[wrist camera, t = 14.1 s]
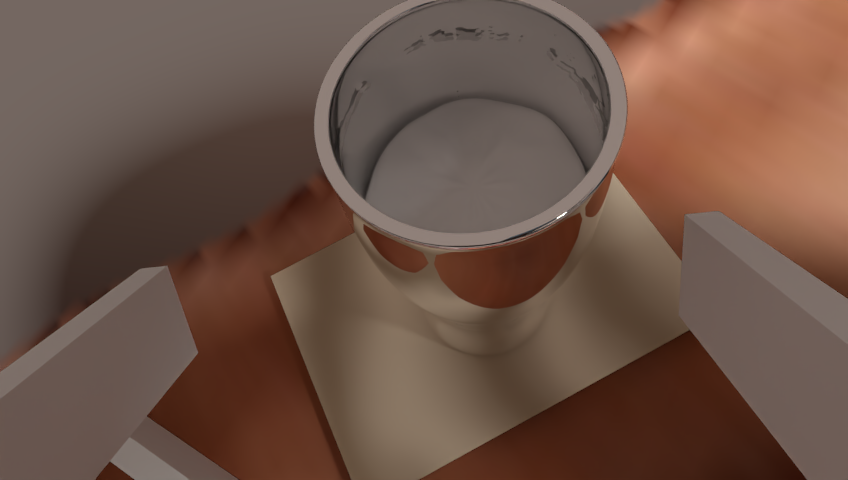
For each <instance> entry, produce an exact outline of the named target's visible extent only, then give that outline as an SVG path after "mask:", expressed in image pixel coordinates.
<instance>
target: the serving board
mask: <svg viewBox="0 0 848 480" xmlns="http://www.w3.org/2000/svg"><path fill="white" fill-rule="evenodd" d="M681 267H682V261H681V260H680V259H679V257H678V256H677V255H676V253H675V252H674V251H673V250H672V248H671V247H670V246H669V244H668V243H667V242H666V241H665V239H664V238H663V237H662V235H661V234H660V233H659V232H658V230H657V229H656V228H655V226H654V225H653V224H652V223H651V221H650V220H649V219H648V217H647V216H646V215H645V214H644V212H643V211H642V210H641V208H640V207H639V206H638V204H637V203H636V202H635V201H634V199H633V198H632V197H631V195H630V194H629V193H628V192H627V190H626V189H625V188H624V186H623V185H622V184H621V183H620V181H619V180H618V179H617V177H616V176H615V175H614V174H613V175H612V179H611V183H610V187H609V190H608V194H607V198H606V201H605V205H604V208H603V211H602V214H601V216H600V219H599V222H598V224H597V227H596V230H595V232H594V235H593V237H592V240H591V242H590V244H589V246H588V248H587V249H586V251H585V253H584V254H583V256H582V258H581V260H580V261H579V263H578V265H577V267H576V268H575V270H574V271H573V272H572V274H571V275H570V277H569V278H568V279H567V280H566V281H565V282H564V284H563V285H562V286H561V287H560V288H559V289H557V290H556V291H555V292H554V293H553V294H552V295H551V296H550V297H549V299H548V305H547V310H546V313H545V316H544V318H543V320H542V322H541V324H540V326H539V327H538V329H537V330H536V331H535V333H534V334H533V335H532V336H531V337H530V338H529V339H528V340H527V341H525V342H524V343H523V344H521V345H520V346H518V347H516V348H515V349H513V350H510V351H508V352H505V353H502V354H497V355H490V356H480V355H472V354H468V353H465V352H462V351H459V350H457V349H455V348H453V347H451V346H450V345H448V344H447V343H445V342H444V341H443V340H442V339H440V338H439V337H438V336H437V334H436V333H435V332H434V331H433V330H432V328H431V327H430V325H429V323H428V322H427V320H426V317H425V315H424V312H423V309H422V308H420V307H419V306H417V305H416V304H414V303H413V302H411V301H410V300H408V299H407V298H406V297H404V296H403V295H402V294H401V293H399V292H398V291H397V290H396V289H395V288H394V287H393V286H392V285H391V284H390V283H389V281H388V280H387V279H386V278H385V277H384V275H383V274H382V273H381V272H380V271H379V270H378V268H377V267H376V266H375V265H374V263H373V262H372V260H371V259H370V258H369V256H368V254H367V253H366V251H365V249H364V248H363V246H362V244H361V243H360V241H359V239H358V238H357V236H356V234H355V232H354V233H352V234H351V235H349V236H347V237H345V238H343V239H341V240H339V241H337V242H335V243H333V244H331V245H329V246H327V247H326V248H324V249H322V250H320V251H318V252H316V253H314V254H312V255H310V256H308V257H306V258H304V259H302V260H300V261H299V262H297V263H295V264H293V265H291V266H289V267H287V268H285V269H283V270H281V271H279V272H277V273H275V274H274V275H272V276H271V279H272V281H273V284H274V286H275V289H276V291H277V294H278V296H279V299H280V302H281V304H282V307H283V309H284V312H285V314H286V317H287V319H288V322H289V324H290V327H291V329H292V332H293V334H294V337H295V339H296V342H297V344H298V347H299V349H300V352H301V354H302V357H303V359H304V362H305V365H306V367H307V370H308V372H309V375H310V377H311V380H312V382H313V385H314V387H315V390H316V392H317V395H318V397H319V400H320V402H321V405H322V407H323V410H324V412H325V415H326V417H327V420H328V423H329V425H330V428H331V430H332V433H333V435H334V438H335V440H336V443H337V445H338V448H339V450H340V453H341V455H342V458H343V460H344V463H345V465H346V468H347V470H348V473H349V475H350V478H351V480H419V479H421V478H423V477H424V476H426V475H428V474H430V473H432V472H433V471H435V470H437V469H439V468H441V467H443V466H444V465H446V464H448V463H450V462H452V461H453V460H455V459H457V458H459V457H461V456H462V455H464V454H466V453H468V452H470V451H471V450H473V449H475V448H477V447H479V446H481V445H482V444H484V443H486V442H488V441H490V440H491V439H493V438H495V437H497V436H499V435H500V434H502V433H504V432H506V431H508V430H509V429H511V428H513V427H515V426H517V425H518V424H520V423H522V422H524V421H526V420H528V419H529V418H531V417H533V416H535V415H537V414H538V413H540V412H542V411H544V410H546V409H547V408H549V407H551V406H553V405H555V404H556V403H558V402H560V401H562V400H564V399H566V398H567V397H569V396H571V395H573V394H575V393H576V392H578V391H580V390H582V389H584V388H585V387H587V386H589V385H591V384H593V383H594V382H596V381H598V380H600V379H602V378H603V377H605V376H607V375H609V374H611V373H613V372H614V371H616V370H618V369H620V368H622V367H623V366H625V365H627V364H629V363H631V362H632V361H634V360H636V359H638V358H640V357H641V356H643V355H645V354H647V353H649V352H651V351H652V350H654V349H656V348H658V347H660V346H661V345H663V344H665V343H667V342H669V341H670V340H672V339H674V338H676V337H678V336H679V335H681V334H683V333H685V332H687V331H689V330H690V329H689V328H688V327H687V325H686V324H685V323H684V322H683V320H682V319H681V318H680V316H679V299H680V283H681Z"/></svg>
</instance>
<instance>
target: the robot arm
mask: <svg viewBox="0 0 848 480" xmlns="http://www.w3.org/2000/svg"><path fill="white" fill-rule="evenodd" d="M679 316H680V318H681V319H682V320H683V322H684V323H685V324H686V325H687V327H688V328H689V329H690V330H691V332H692V333H693V334H694V336H695V337H696V338H697V339H698V341H699V342H700V343H701V345H702V346H703V347H704V348H705V350H706V351H707V352H708V354H709V355H710V356H711V357H712V359H713V360H714V361H715V362H716V364H717V365H718V366H719V368H720V369H721V370H722V371H723V373H724V374H725V375H726V377H727V378H728V379H729V380H730V382H731V383H732V384H733V386H734V387H735V388H736V389H737V391H738V392H739V393H740V394H741V396H742V397H743V398H744V400H745V401H746V402H747V403H748V405H749V406H750V407H751V409H752V410H753V411H754V412H755V414H756V415H757V416H758V418H759V419H760V420H761V421H762V423H763V424H764V425H765V426H766V428H767V429H768V430H769V432H770V433H771V434H772V435H773V437H774V438H775V439H776V441H777V442H778V443H779V444H780V446H781V447H782V448H783V450H784V451H785V452H786V453H787V455H788V456H789V457H790V458H791V460H792V461H793V462H794V464H795V465H796V466H797V467H798V469H799V470H800V471H801V473H802V474H803V475H804V476H805V478H806V479H807V480H848V299H847V298H846V297H844V296H843V295H841V294H840V293H838V292H837V291H835V290H834V289H832V288H831V287H830V286H828V285H827V284H825V283H824V282H822V281H821V280H819V279H818V278H816V277H815V276H813V275H812V274H810V273H809V272H808V271H806V270H805V269H803V268H802V267H800V266H799V265H797V264H796V263H794V262H793V261H791V260H790V259H788V258H787V257H786V256H784V255H783V254H781V253H780V252H778V251H777V250H775V249H774V248H772V247H771V246H769V245H768V244H766V243H765V242H764V241H762V240H761V239H759V238H758V237H756V236H755V235H753V234H752V233H750V232H749V231H747V230H746V229H744V228H743V227H742V226H740V225H739V224H737V223H736V222H734V221H733V220H731V219H730V218H728V217H727V216H725V215H724V214H722V213H721V212H719V211H714V212H704V213H694V214H685V218H684V235H683V251H682V267H681V283H680V299H679ZM197 354H198V351H197V348H196V345H195V342H194V340H193V337H192V334H191V331H190V328H189V325H188V323H187V320H186V317H185V314H184V311H183V308H182V306H181V303H180V300H179V297H178V294H177V292H176V289H175V286H174V283H173V280H172V277H171V275H170V272H169V269H168V266H161V267H150V268H141V269H139V270H138V271H137V272H135V273H134V274H132V275H131V276H130V277H128V278H127V279H126V280H124V281H123V282H122V283H120V284H119V285H118V286H116V287H115V288H113V289H112V290H111V291H109V292H108V293H107V294H105V295H104V296H103V297H101V298H100V299H99V300H97V301H96V302H94V303H93V304H92V305H90V306H89V307H88V308H86V309H85V310H84V311H82V312H81V313H80V314H78V315H77V316H76V317H74V318H73V319H71V320H70V321H69V322H67V323H66V324H65V325H63V326H62V327H61V328H59V329H58V330H57V331H55V332H54V333H52V334H51V335H50V336H48V337H47V338H46V339H44V340H43V341H42V342H40V343H39V344H38V345H36V346H35V347H33V348H32V349H31V350H29V351H28V352H27V353H25V354H24V355H23V356H21V357H20V358H19V359H17V360H16V361H15V362H13V363H12V364H10V365H9V366H8V367H6V368H5V369H4V370H2V371H1V372H0V480H95V479H96V478H97V476H98V475H99V474H100V473H101V471H102V470H103V469H104V468H105V467H106V465H107V464H108V463H109V462H110V460H111V459H112V458H113V457H114V456H115V454H116V453H117V452H118V451H119V449H120V448H121V447H122V446H123V445H124V443H125V442H126V441H127V440H128V438H129V437H130V436H131V435H132V434H133V432H134V431H135V430H136V429H137V427H138V426H139V425H140V424H141V422H142V421H143V420H144V419H145V418H146V416H147V415H148V414H149V413H150V411H151V410H152V409H153V408H154V407H155V405H156V404H157V403H158V402H159V400H160V399H161V398H162V397H163V396H164V394H165V393H166V392H167V391H168V389H169V388H170V387H171V386H172V384H173V383H174V382H175V381H176V380H177V378H178V377H179V376H180V375H181V373H182V372H183V371H184V370H185V369H186V367H187V366H188V365H189V364H190V362H191V361H192V360H193V359H194V358H195V356H196V355H197Z"/></svg>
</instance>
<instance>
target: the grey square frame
mask: <svg viewBox="0 0 848 480" xmlns="http://www.w3.org/2000/svg"><path fill="white" fill-rule="evenodd" d="M110 462H112V463H113V464H114V465H116V466H117V467H118V468H120V469H121V470H122V471H124V472H125V473H126V474H128V475H129V476H130V477H132V478H133V479H134V480H239V479H237V478H236V477H234V476H233V475H231V474H230V473H228V472H227V471H226V470H224V469H223V468H221V467H220V466H218V465H217V464H215V463H214V462H212V461H211V460H210V459H208V458H207V457H205V456H204V455H202V454H201V453H199V452H198V451H196V450H195V449H194V448H192V447H191V446H189V445H188V444H186V443H185V442H183V441H182V440H180V439H179V438H178V437H176V436H175V435H173V434H172V433H170V432H169V431H167V430H166V429H165V428H163V427H162V426H160V425H159V424H157V423H156V422H154V421H153V420H151V419H150V418H149V417H147V416H146V418H145V419H144V420H143V421H142V422H141V424H140V425H139V426H138V427H137V429H136V430H135V431H134V432H133V434H132V435H131V436H130V437H129V438H128V440H127V441H126V442H125V443H124V445H123V446H122V447H121V448H120V449H119V451H118V452H117V453H116V454H115V456H114V457H113V458H112V459H111V460H110Z"/></svg>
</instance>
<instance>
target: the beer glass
mask: <svg viewBox="0 0 848 480" xmlns="http://www.w3.org/2000/svg"><path fill="white" fill-rule="evenodd" d="M627 117H628V100H627V92H626V86H625V82H624V78H623V75H622V72H621V69H620V66H619V64H618V62H617V60H616V58H615V56H614V54H613V53H612V51H611V49H610V48H609V46H608V45H607V43H606V42H605V41H604V39H603V38H602V37H601V36H600V35H599V33H598V32H597V31H596V30H595V29H594V28H593V27H592V26H591V25H590V24H589V23H587V22H586V21H585V20H584V19H583V18H581V17H580V16H579V15H577V14H576V13H575V12H573V11H572V10H570V9H569V8H567V7H565V6H563V5H562V4H560V3H558V2H556V1H553V0H406V1H404V2H402V3H400V4H398V5H396V6H394V7H392V8H390V9H388V10H387V11H385V12H383V13H382V14H380V15H379V16H377V17H376V18H374V19H373V20H372V21H370V22H369V23H368V24H366V25H365V26H364V27H363V28H362V29H360V30H359V31H358V32H357V33H356V34H355V35H354V36H353V37H352V38H351V39H350V40H349V41H348V43H346V45H345V46H344V47H343V48H342V50H341V51H340V52H339V54H338V55H337V57H336V58H335V60H334V61H333V63H332V64H331V66H330V68H329V69H328V71H327V73H326V75H325V78H324V80H323V82H322V85H321V87H320V91H319V94H318V97H317V101H316V107H315V113H314V138H315V145H316V150H317V154H318V158H319V161H320V164H321V167H322V169H323V171H324V174H325V176H326V178H327V179H328V181H329V183H330V185H331V186H332V188H333V189H334V191H335V192H336V194H337V196H338V198H339V201H340V203H341V205H342V207H343V210H344V212H345V214H346V216H347V218H348V220H349V222H350V224H351V226H352V228H353V230H354V232H355V234H356V236H357V238H358V239H359V241H360V243H361V244H362V246H363V248H364V249H365V251H366V253H367V254H368V256H369V258H370V259H371V260H372V262H373V263H374V265H375V266H376V267H377V268H378V270H379V271H380V272H381V273H382V274H383V275H384V277H385V278H386V279H387V280H388V281H389V283H390V284H391V285H392V286H393V287H394V288H395V289H396V290H397V291H398V292H399V293H401V294H402V295H403V296H404V297H406V298H407V299H408V300H410V301H411V302H413V303H414V304H416V305H417V306H419V307H420V308H422V309H423V312H424V315H425V317H426V320H427V322H428V323H429V325H430V327H431V328H432V330H433V331H434V332H435V333H436V334H437V336H438V337H439V338H440V339H442V340H443V341H444V342H445V343H447V344H448V345H450V346H451V347H453V348H455V349H457V350H459V351H462V352H465V353H468V354H472V355H480V356H490V355H497V354H502V353H505V352H508V351H510V350H513V349H515V348H516V347H518V346H520V345H521V344H523V343H524V342H525V341H527V340H528V339H529V338H530V337H531V336H532V335H533V334H534V333H535V331H536V330H537V329H538V327H539V326H540V324H541V322H542V320H543V318H544V316H545V313H546V310H547V305H548V299H549V297H550V296H551V295H552V294H553V293H554V292H555V291H556V290H557V289H559V288H560V287H561V286H562V285H563V284H564V282H565V281H566V280H567V279H568V278H569V277H570V275H571V274H572V272H573V271H574V270H575V268H576V267H577V265H578V263H579V261H580V260H581V258H582V256H583V254H584V253H585V251H586V249H587V248H588V246H589V244H590V242H591V240H592V237H593V235H594V232H595V230H596V227H597V224H598V222H599V219H600V216H601V214H602V211H603V208H604V205H605V201H606V198H607V194H608V190H609V187H610V183H611V179H612V175H613V170H614V166H615V161H616V159H617V157H618V155H619V152H620V149H621V147H622V143H623V140H624V136H625V132H626V126H627Z"/></svg>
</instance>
